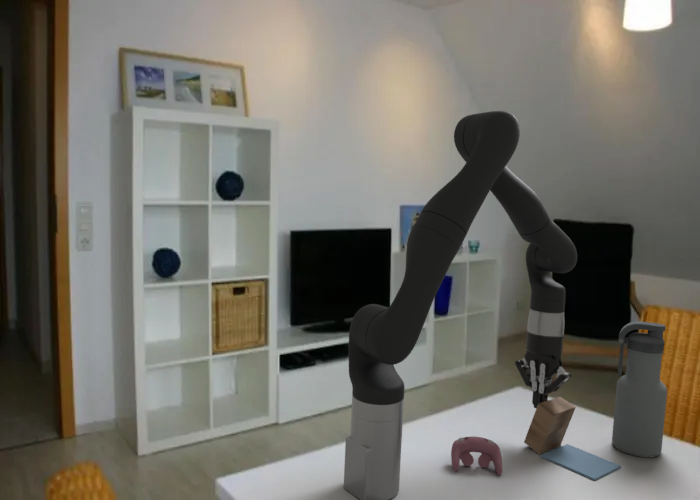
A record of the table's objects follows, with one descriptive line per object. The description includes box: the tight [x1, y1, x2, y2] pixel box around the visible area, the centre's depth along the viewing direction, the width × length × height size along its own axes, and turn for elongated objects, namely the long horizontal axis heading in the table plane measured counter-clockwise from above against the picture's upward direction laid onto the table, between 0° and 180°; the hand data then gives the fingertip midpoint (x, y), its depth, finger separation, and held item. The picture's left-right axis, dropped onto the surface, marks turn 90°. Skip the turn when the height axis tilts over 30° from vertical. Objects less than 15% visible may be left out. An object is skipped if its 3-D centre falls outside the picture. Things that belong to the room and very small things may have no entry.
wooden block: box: [523, 396, 576, 455], centre depth 123 cm, size 8×4×10 cm, turn 128°
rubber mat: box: [540, 443, 622, 482], centre depth 117 cm, size 10×12×1 cm
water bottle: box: [611, 320, 668, 458], centre depth 124 cm, size 10×10×28 cm
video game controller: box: [450, 436, 503, 476], centre depth 113 cm, size 10×5×7 cm, turn 85°
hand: (539, 408), depth 125 cm, fingers closed
